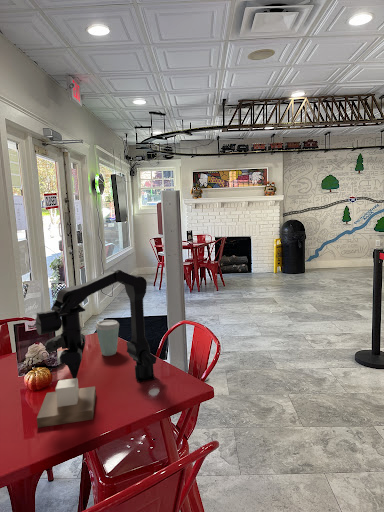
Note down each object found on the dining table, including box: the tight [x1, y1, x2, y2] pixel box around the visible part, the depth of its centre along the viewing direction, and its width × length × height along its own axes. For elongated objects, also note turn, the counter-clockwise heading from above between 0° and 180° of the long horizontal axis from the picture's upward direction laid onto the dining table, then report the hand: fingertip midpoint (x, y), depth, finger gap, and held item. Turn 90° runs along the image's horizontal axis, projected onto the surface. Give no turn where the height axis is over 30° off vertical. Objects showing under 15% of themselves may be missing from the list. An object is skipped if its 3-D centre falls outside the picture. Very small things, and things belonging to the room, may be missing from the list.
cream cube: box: [55, 377, 79, 407], centre depth 116 cm, size 6×6×6 cm
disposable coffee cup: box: [95, 319, 120, 357], centre depth 163 cm, size 11×11×15 cm
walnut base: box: [36, 386, 97, 428], centre depth 116 cm, size 16×16×3 cm
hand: (76, 372), depth 119 cm, fingers open, 9 cm apart
